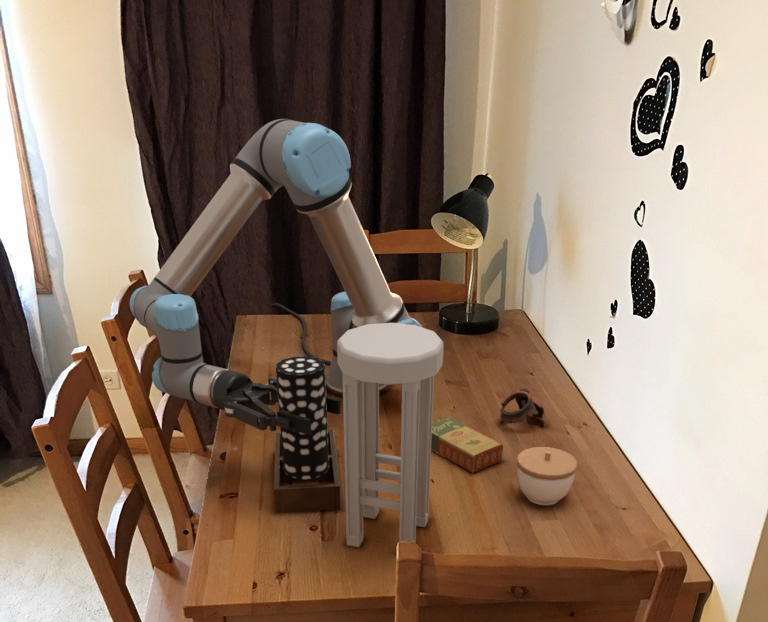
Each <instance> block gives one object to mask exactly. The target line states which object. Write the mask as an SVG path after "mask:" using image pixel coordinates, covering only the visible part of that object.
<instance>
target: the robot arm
mask: <svg viewBox="0 0 768 622" xmlns="http://www.w3.org/2000/svg"><path fill="white" fill-rule="evenodd" d="M351 163H352V161H351V154H350V153H349V149H348V146H347V144H346V142H345V141H344V140H343V139H342V137H341V136H340V135H339V134H338V133H336V132H335V131H333V129H330V128H328V127H326V126H324V125H322V124H319V123H315V122H302V121H297V120H293V119H289V118H278V119H275V120H272V121H270V122H268V123H266V124H264V125H263V126H261V127H260V128H259V129H258V130H257V131H256V132H255V133H254V134H253V135H252V137H251V138H250V139H249V140H248V141H246V143H245V145H244V146H243V147H242V148H241V150H240V151H239V152H238V154H237V155H236V156H235V158H234V159H233V161H232V162H231V163H230V164H229V171H230V174H229V175H228V177H227V178H226V179H225V181H224V182H223V184H222V185H221V187H220V188H219V189H218V190H217V191H216V193H215V195H214V196H213V197H212V199H211V200H210V201H209V202H208V204H207V205H206V207H205V208H204V209H203V211H201V213H200V215H199V216H198V217H197V219H196V220H195V221H194V223H193V224H192V226H191V227H190V229H189V230H188V232H186V234H185V235H184V236H183V238H182V240H181V241H180V242H179V244H178V245H177V246H176V247H175V249H174V250H173V252H172V253H171V255H170V256H169V257H168V258H167V260H166V261H165V263H164V264H163V265H162V266H161V268H160V269H159V271H158V272H157V273H156V275H155V276H154V278H153V279H152V280H151V281H150V283H149V284H148V285H143V286H141V287H139V288H136V289H135V290H134V291H133V292H132V294H131V296H130V298H129V309H130V312H131V314H132V315H133V317H134V318H135V320H137V322H138V324H140V325H141V326H142V327H144V328H146V329H147V330H149V332H150V333H151V334H152V335H154V336H155V337H156V338H157V340H158V343H159V349H160V350H159V351H160V357H158V358H157V359H156V361H155V362H154V364H153V366H152V368H153V371H152V372H151V379H152V382H153V385H154V386H155V388H156V389H157V390H158V391H160V392H161V393H163V394H164V393H165V394H166V395H169V396H171V397H174V398H179V399H183V400H186V401H187V400H188V401H191V402H195V403H197V404H201V405H205V406H208V407H212V408H214V409H219V410H221V411H224V415H225V417H226V418H230V419H236V420H238V421H240V422H243V423H245V424H247V425H249V426H251V427H253V428H256V429H257V430H260V431H266V430H267V428H268V427H269V431H270V432H275V431H277V428H280V427H281V428H285V429H290V430H293V431H297V432H300V433H304V434H307V435H309V434H311V419H309V418H305V417H302V416H298V415H295V414H291V413H287V412H284V411H280V410H279V409H278V410H277V411H276V412H275V411H274V410H273V409H272V408H271V407H269V406H276V404H278V391H277V378H275V377H269V378H267V383H259V382H253V381H252V379H251V378H250V377H249V376H248V375H247V374H245V373H243V372H239V371H235V370H231V369H227V368H223V367H220V366H216V365H211V364H208V363H205V362H204V357H203V350H202V342H201V333H200V323H199V320H200V319H199V313H198V310H197V306H196V301H195V299H194V298H193V297H192V295H193V294H194V292H195V291H196V289H197V288H198V287H199V286H200V284H201V283H202V282H203V280H204V279H205V278H206V277H207V275H208V274H209V272H210V271H211V270H212V268H213V267H214V265H216V263H217V261H219V259H220V257H221V256H223V253H224V252H226V249H227V248H228V246H229V245H230V244H231V243H232V241H234V239H235V237H236V236H237V235H238V233H240V231H241V229H242V228H243V227H244V225H245V224H246V223H247V221H248V220H249V219H250V217H251V216H252V214H253V213H254V212H255V210H256V209H257V208H258V207H259V205H260V204H261V203H262V201H268V200H271V198H272V197H273V195H274V194H275V193H276V192H277V191H278V190H279V189H280V188H282V187H284V189H286V191H287V193H288V196H289V197H290V199H291V202H292V204H293V206H294V207H295V209H296V211H297V212H298V213H301V214H304V215H307V216H308V218H309V220H310V222H311V224H312V226H313V228H314V230H315V233H316V235H317V236H318V238H319V240H320V243H321V244H322V246H323V249H324V251H325V253H326V255H327V257H328V259H329V261H330V263H331V266H332V267H333V269H334V271H335V273H336V275H337V278H338V280H339V281H340V284H341V285H342V288H343V290H344V291H342V292H338V293H336V294H334V295H333V297H332V298H331V301H330V302H331V304H330V311H329V312H330V315H331V317H330V318H331V346H332V347H331V348H332V357H331V360H327V359H324V358H320V357H319V356H316V355H314V354H312V353H311V352H310V351H309V350H308V348H307V346H306V334H307V324H306V321H305V319H304V318H303V317H302V316H301V315H300V314H299V313H298V312H297V313H296V312H295V311H293V310H291V309H289V308H287V307H286V306H284V305H283V304H280V303H277V302H275V303H272V304H271V305H270V309H274V308H275V307H279V308H281V309H282V310H284V311H286V312H287V313H289V314H290V315H293V316H294V317H296V318H297V319H299V320H300V322H301V323H302V334H301V346H302V348H303V351H304V352H305V354H306V355H307V357H314V358H318V359H320V360H322V361H323V362H324V364H325V365H329V370H328V372H327V374H326V376H325V381H326V390H328V391H329V392H330V393H332V394H333V395H336V396H339V397H343V373H342V371H341V369H340V367H339V365H338V360H337V341H338V340H339V339H340V338H341V337H342V336H343V335H344V334H345V333H346V332H347V331H348V330H350V329H354V328H357V327H360V326H364V325H367V324H380V323H399V324H409V325H417V326H419V327H422V328H424V327H423V326H422V324H421V323H420V322H419V321H418V320H417V319H415V318H413V317H411V316H410V315H409V313H408V310H407V308H406V307H405V306H406V305H405V304H404V301H403V299H402V297H401V296H400V295H398V294H396V293H393V292H391V290H390V288H389V285H388V283H387V280H386V279H385V276H384V274H383V272H382V270H381V267H380V265H379V262H378V260H377V258H376V256H375V254H374V251H373V249H372V247H371V244H370V242H369V240H368V237H367V235H366V233H365V231H364V228H363V225H362V224H361V221H360V219H359V217H358V215H357V212H356V210H355V207H354V205H353V203H352V201H351V198H350V196H349V193H350V191H351V189H352V184H353V183H352V180H351V178H350V173H349V172H350V169H351V167H352V165H351ZM389 385H390V384H389ZM389 385H388V384H380V383H379V395H380V394H382V393H384V392H386V391H387V390H388V389H389ZM326 405H327V413H330V414H333V415H341V414H342V407H341V406H342V405H341V399H340V398H336V397H332V396H328V395H326Z"/></svg>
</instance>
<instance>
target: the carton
mask: <svg viewBox="0 0 768 622" xmlns="http://www.w3.org/2000/svg"><path fill="white" fill-rule="evenodd" d="M431 451H433V452H434V453H436V454H438V455H440V456H442V457H443V458H445V459H448V460H449V461H451V462H453V463H454V464H456V465H458V466H460V467H462V468H463V469H465V470H467V471H469V472H471V473H472V474H473V473H475V472H478V471H481V470H483V469H486V468H488V467H490V466H494V465H495V464H498V463H500V462H502V459H503V453H504V452H503V451H504V444H503V442H500V441H499V440H497V439H494V438H492V437H490V436H488V435H486V434H484V433H482V432H480V431H478V430H477V429H475V428H472V427H470V426H469V425H466V424H464V423H462V422H461V421H458V420H457V419H455V418H452V416H449V417H446V418H443V419H441V420H438V421H436V422H432V439H431Z"/></svg>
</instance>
